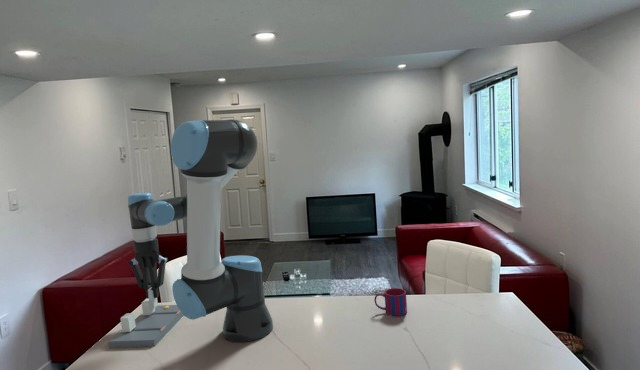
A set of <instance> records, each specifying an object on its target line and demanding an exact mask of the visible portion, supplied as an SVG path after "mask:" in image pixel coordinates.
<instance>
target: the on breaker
mask: <svg viewBox="0 0 640 370" xmlns="http://www.w3.org/2000/svg"><path fill="white" fill-rule="evenodd" d="M135 319H136V317H135V313H134V312H130V313H129V312H128V313H125V314H124V315H122V316H121V317H120V325H121V330H122V332H130V331H131V330H133V329H134V328H135V327H136V324H135Z"/></svg>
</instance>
